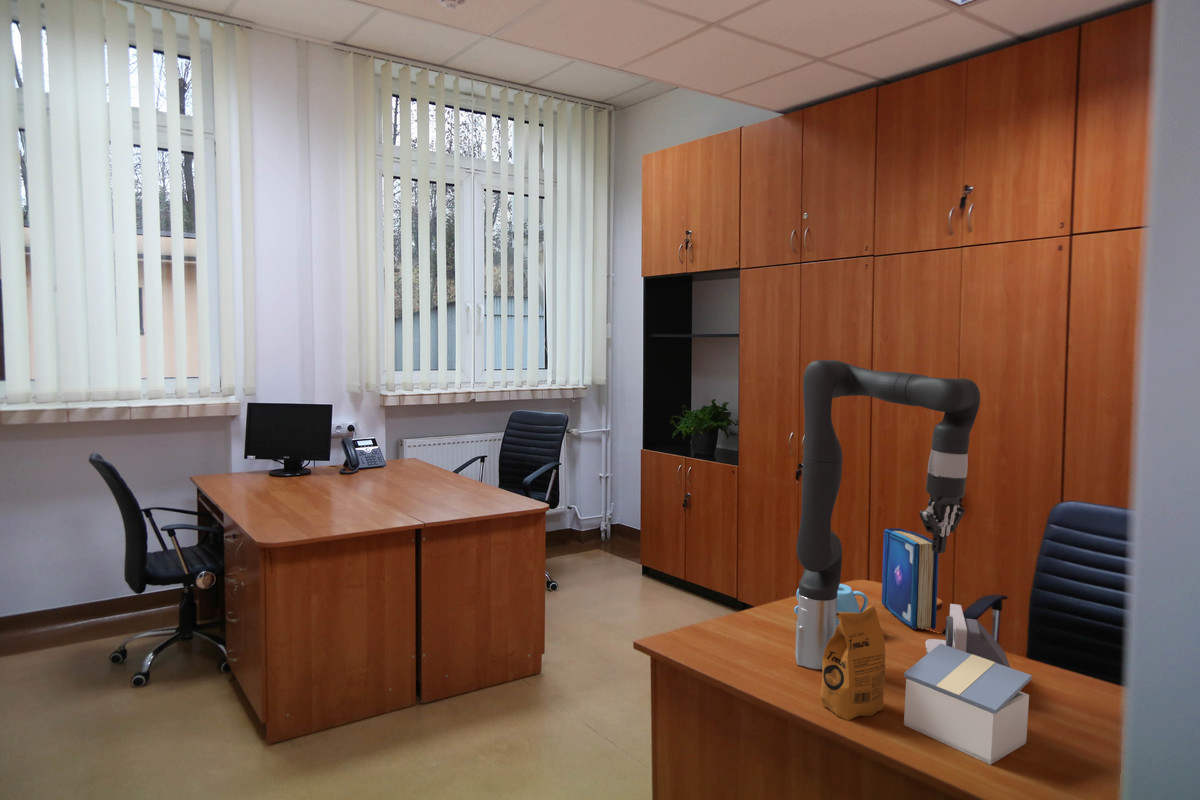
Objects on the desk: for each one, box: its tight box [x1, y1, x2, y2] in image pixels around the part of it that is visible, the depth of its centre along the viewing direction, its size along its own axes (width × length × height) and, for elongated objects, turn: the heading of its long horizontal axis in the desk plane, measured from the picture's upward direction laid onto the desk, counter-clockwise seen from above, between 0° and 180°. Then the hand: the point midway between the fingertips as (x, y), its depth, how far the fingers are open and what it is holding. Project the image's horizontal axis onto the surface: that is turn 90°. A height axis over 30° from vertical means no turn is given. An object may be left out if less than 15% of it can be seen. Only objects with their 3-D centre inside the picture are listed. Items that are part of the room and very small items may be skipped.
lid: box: [903, 643, 1033, 714], centre depth 152 cm, size 14×19×1 cm
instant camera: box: [925, 603, 1011, 668], centre depth 179 cm, size 21×21×15 cm
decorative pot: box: [793, 583, 869, 628], centre depth 210 cm, size 16×16×14 cm
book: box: [881, 527, 940, 630], centre depth 219 cm, size 22×7×25 cm, turn 5°
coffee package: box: [820, 605, 886, 721], centre depth 163 cm, size 10×12×22 cm
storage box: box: [903, 677, 1030, 766], centre depth 153 cm, size 14×18×10 cm
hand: (938, 552), depth 160 cm, fingers closed
